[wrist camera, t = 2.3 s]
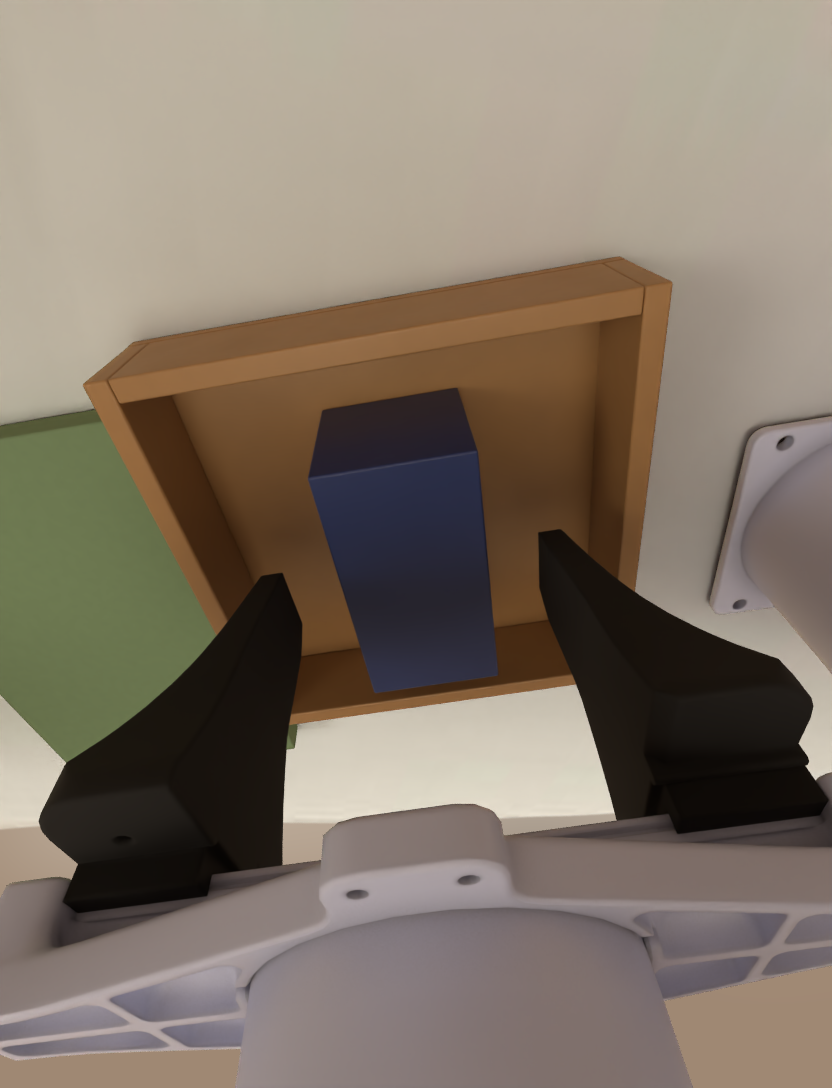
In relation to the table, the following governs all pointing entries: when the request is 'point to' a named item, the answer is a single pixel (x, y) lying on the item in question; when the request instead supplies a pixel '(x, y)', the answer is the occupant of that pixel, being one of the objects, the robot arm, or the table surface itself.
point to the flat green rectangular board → (85, 586)
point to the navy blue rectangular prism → (408, 537)
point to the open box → (385, 373)
